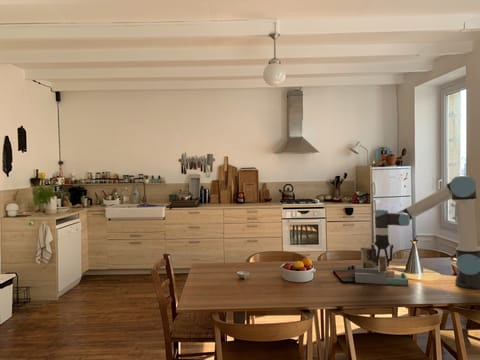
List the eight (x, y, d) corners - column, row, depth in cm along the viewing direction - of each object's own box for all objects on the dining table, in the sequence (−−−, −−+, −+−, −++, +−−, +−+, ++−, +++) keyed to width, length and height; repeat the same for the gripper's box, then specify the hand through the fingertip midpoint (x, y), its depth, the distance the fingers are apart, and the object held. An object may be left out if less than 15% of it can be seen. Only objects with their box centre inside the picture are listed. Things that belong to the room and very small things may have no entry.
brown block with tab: (385, 273, 228) (384, 254, 228) (386, 277, 220) (385, 257, 220) (379, 273, 229) (378, 254, 229) (380, 276, 221) (379, 257, 221)
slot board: (384, 277, 231) (384, 269, 231) (386, 284, 217) (386, 275, 217) (355, 276, 236) (354, 267, 236) (355, 282, 223) (355, 273, 223)
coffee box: (374, 270, 248) (374, 247, 247) (377, 273, 241) (376, 249, 241) (361, 270, 249) (360, 247, 248) (363, 273, 242) (362, 249, 242)
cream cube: (393, 278, 224) (400, 279, 223) (394, 280, 221) (401, 281, 219) (393, 272, 224) (400, 273, 223) (394, 274, 221) (401, 274, 219)
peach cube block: (393, 276, 224) (393, 269, 224) (394, 278, 221) (394, 271, 221) (386, 275, 226) (386, 269, 226) (387, 277, 222) (387, 271, 222)
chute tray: (405, 278, 227) (405, 273, 227) (408, 285, 214) (408, 279, 214) (384, 277, 231) (384, 272, 231) (386, 284, 217) (386, 278, 217)
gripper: (395, 233, 225) (396, 270, 225) (367, 233, 230) (368, 269, 231) (396, 235, 218) (397, 274, 218) (367, 235, 223) (368, 272, 223)
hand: (382, 271), depth 224 cm, fingers closed on brown block with tab, 3 cm apart
